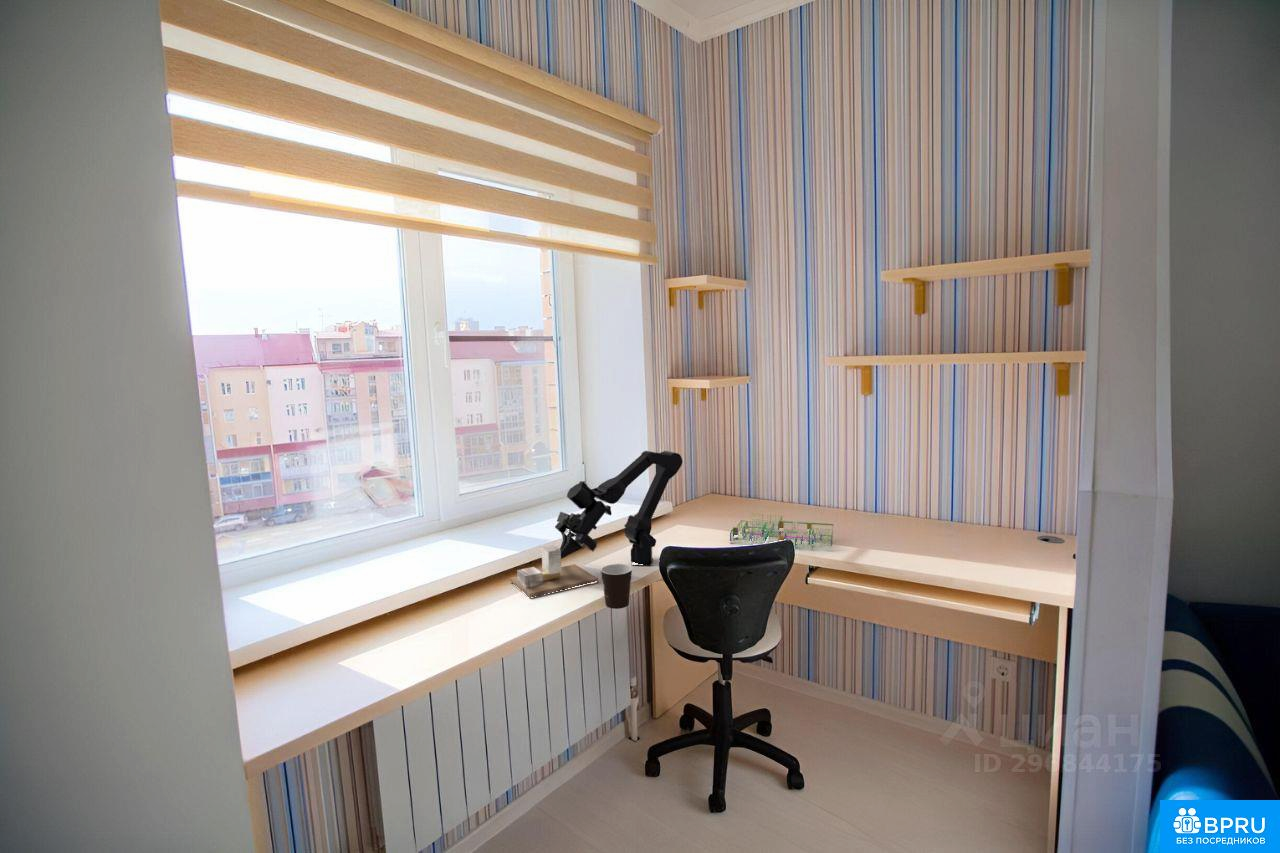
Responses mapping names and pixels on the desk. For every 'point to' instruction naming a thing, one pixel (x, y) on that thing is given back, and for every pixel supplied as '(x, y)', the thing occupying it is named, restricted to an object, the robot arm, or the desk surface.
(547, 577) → the white boxy piece
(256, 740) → the desk surface
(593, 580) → the lock plate
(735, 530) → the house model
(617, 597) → the coffee mug
